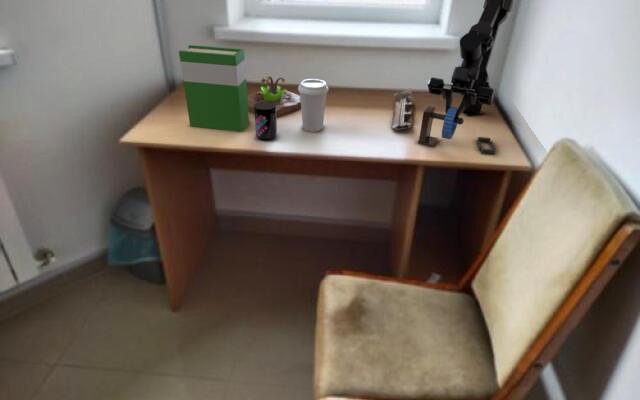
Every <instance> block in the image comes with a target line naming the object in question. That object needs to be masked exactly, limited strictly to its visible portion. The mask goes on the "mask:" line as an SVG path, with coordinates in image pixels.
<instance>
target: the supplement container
mask: <svg viewBox="0 0 640 400" xmlns="http://www.w3.org/2000/svg"><path fill="white" fill-rule="evenodd" d="M253 114H254V128H255V137H256V138H257V140H259V141H264V142H269V141H273V140H275V139H276V138H277V136H278V120H277V119H278V118H277V117H278V116H277V117H276V104H275V103H273V102H269V101H262V102H257V103H255V104H254V113H253Z"/></svg>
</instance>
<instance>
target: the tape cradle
mask: <svg viewBox="0 0 640 400" xmlns="http://www.w3.org/2000/svg"><path fill="white" fill-rule="evenodd" d="M481 143H485V144H486V143H487V144H489V145H490V148H483V147H482V144H481ZM476 145H477V148H478V150H479V152H481V154H482V155H494V156H495V154H496V147H495V143H494V142H493V140H491V137H484V136H477V139H476Z"/></svg>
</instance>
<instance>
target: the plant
mask: <svg viewBox="0 0 640 400" xmlns="http://www.w3.org/2000/svg"><path fill="white" fill-rule="evenodd" d="M280 80H281V82H282V83H286V79H285V78H284V77H281V76H280V77H278V78H277V79H276V80H275V82H274V79H273V77H272V76H270V75H268V76H266V77H265V78H262V79H261V80H260V82H261V83H262V84H264V83H265V82H266V83H267V86H266V87H265V86H260V91H255V92H253V93H251V94H249V95H248V94H247V97H248V111H249V113H252V114H254V104H255V103H257V102H262V101H269V102H273V103H275V104H276V117H281V116H283V115H287V114H289V113H291V112H293V111H298V109H300V108H301V101H300V94H298V93H297V94H296V93H293V92H292V91H288V90H287V89H285V88H284V89H281V88H282V87H281V86H280V85H278V83H279V81H280Z"/></svg>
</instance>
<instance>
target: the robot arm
mask: <svg viewBox="0 0 640 400" xmlns="http://www.w3.org/2000/svg"><path fill="white" fill-rule="evenodd" d="M483 2H484V3H483V11H482V13H481V15H480V17H479V19H478V22H477V23H475V24H473V25H471V27H470V28H469V30H468V32H466V33H465V34H464V35H463V36H462V37H460V40H459V51H460V52H459V53H460V62H459V65H458V66H453V69H452V73H451V76H450V78H451V79H450V83H445V80H444V79H443V78H438V77H433V76H432V77H430V78H429V79H428V81H427V84H426V85H427V89H428V93H429V94H431V95H436V96H440V95H441V97H442V99H444V100H445V115H446V114H447V111H448V110H449V108H450V107H452V103H453V94H459V95H461V96H462V99H461V102H460V104H459V106H458V107H457V108H458V110H457V113H456V116H455V118H456V119H457V118H458V117H459V118H460V116H461V115H462V113H463V114H464V115H466V116H467V117H471V116H480V115H483V114H484V112H483V111H482V108H483V105H488V106H491V105H492V104H493V102H494V101H493V100H494V98H495V90H494V88H493V87H491V86H490V81H489V79H490V76H489V72H488V67H489V64H490V60H491V57H492V53H493V50H494V46H495V43H496V40H497V37H498V33H499V29H500V26H501V25H502V24H503V23H504V22H505V21H506V20H507V19H508V16H509V13H511V12H512V11H513V7H514V0H484V1H483Z"/></svg>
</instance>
